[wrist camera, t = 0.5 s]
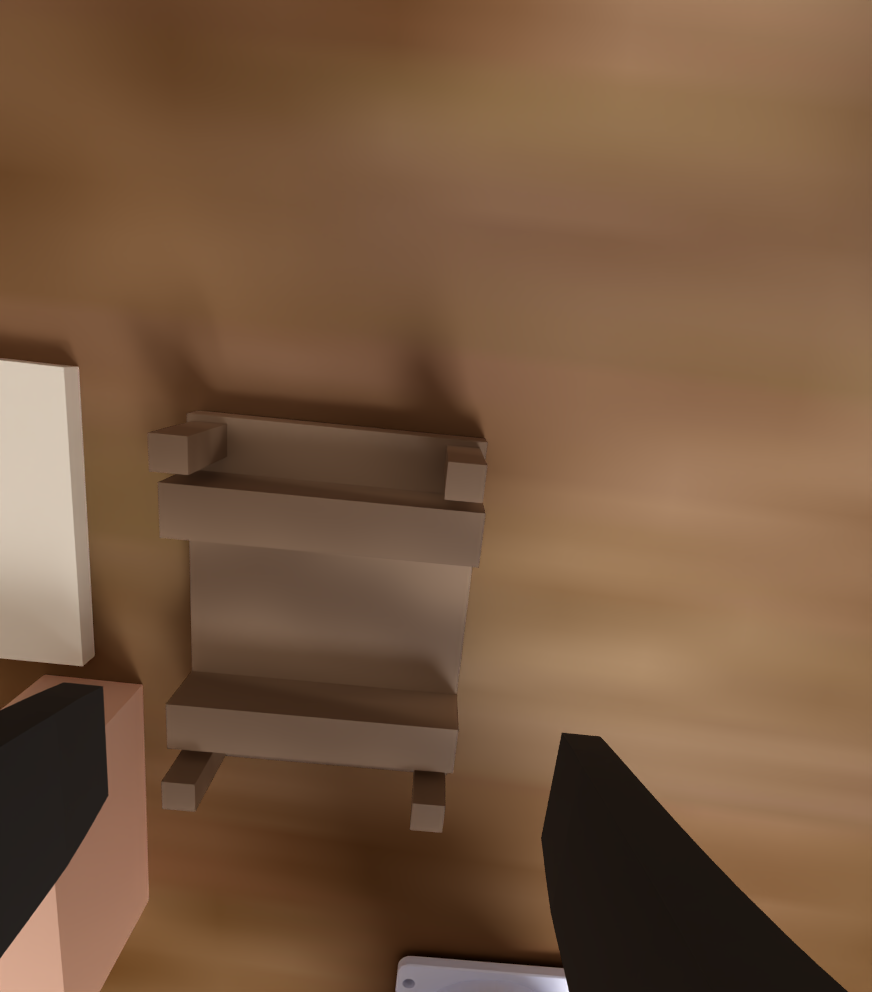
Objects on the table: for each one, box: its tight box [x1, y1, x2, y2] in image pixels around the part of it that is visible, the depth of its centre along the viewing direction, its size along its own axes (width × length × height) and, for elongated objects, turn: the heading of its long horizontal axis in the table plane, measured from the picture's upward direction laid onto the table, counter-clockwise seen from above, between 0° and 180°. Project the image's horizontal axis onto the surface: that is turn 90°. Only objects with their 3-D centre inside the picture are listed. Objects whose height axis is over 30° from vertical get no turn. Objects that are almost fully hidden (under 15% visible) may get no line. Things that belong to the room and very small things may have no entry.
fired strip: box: [0, 358, 95, 666], centre depth 18 cm, size 10×4×1 cm, turn 174°
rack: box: [148, 410, 487, 833], centre depth 17 cm, size 12×9×3 cm
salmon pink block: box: [0, 674, 149, 992], centre depth 18 cm, size 10×4×5 cm, turn 174°
